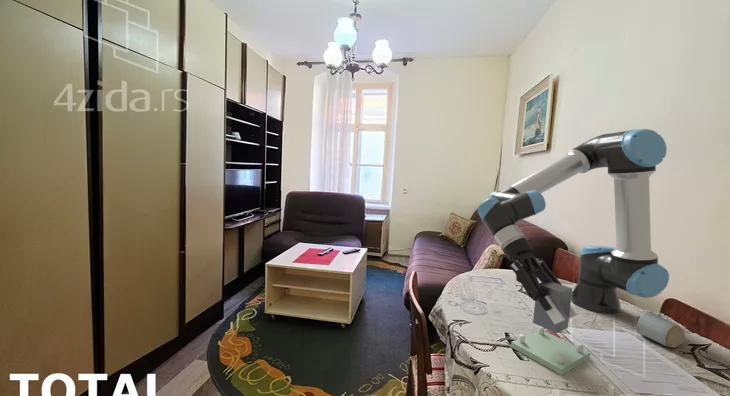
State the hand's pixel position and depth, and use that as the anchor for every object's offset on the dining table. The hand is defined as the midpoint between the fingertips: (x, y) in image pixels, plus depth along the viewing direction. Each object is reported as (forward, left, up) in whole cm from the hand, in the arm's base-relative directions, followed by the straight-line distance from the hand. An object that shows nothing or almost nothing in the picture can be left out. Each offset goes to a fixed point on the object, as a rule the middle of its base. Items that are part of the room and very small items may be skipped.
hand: (566, 319), depth 78 cm
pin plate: (0, -3, -11) cm, 12 cm away
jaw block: (0, -4, -3) cm, 5 cm away
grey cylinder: (-39, +9, -11) cm, 42 cm away
